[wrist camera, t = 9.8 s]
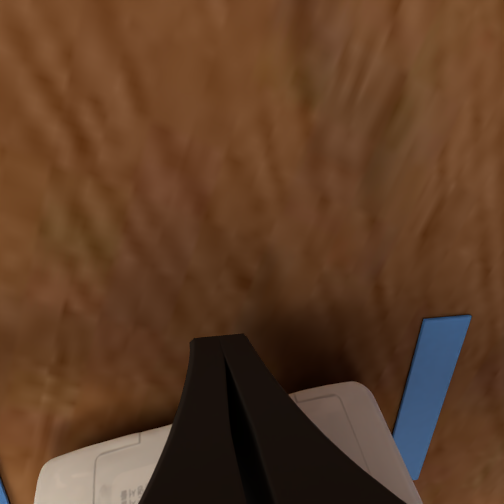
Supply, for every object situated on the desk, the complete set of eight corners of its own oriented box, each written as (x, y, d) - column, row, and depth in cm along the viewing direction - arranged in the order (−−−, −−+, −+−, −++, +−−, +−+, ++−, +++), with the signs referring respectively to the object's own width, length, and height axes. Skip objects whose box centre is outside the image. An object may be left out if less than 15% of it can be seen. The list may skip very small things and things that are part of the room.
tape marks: (470, 314, 14) (472, 316, 14) (416, 477, 18) (417, 479, 18) (-113, 369, 11) (-115, 372, 11) (-29, 549, 15) (-29, 552, 15)
